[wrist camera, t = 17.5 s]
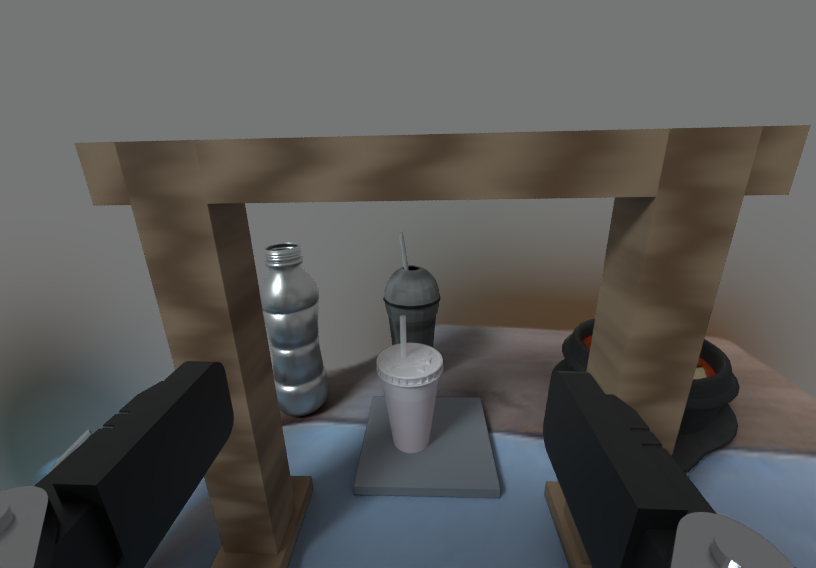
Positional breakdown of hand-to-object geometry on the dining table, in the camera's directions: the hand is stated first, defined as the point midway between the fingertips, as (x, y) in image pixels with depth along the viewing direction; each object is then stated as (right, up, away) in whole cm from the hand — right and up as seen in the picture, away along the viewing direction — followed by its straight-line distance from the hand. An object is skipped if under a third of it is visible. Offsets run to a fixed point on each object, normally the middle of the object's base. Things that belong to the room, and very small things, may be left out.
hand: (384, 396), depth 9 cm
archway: (+2, -18, +20) cm, 27 cm away
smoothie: (+1, -14, +30) cm, 33 cm away
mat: (+3, -14, +31) cm, 34 cm away
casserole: (+27, -12, +36) cm, 47 cm away
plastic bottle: (-12, -12, +37) cm, 41 cm away
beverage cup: (+1, -10, +43) cm, 44 cm away
